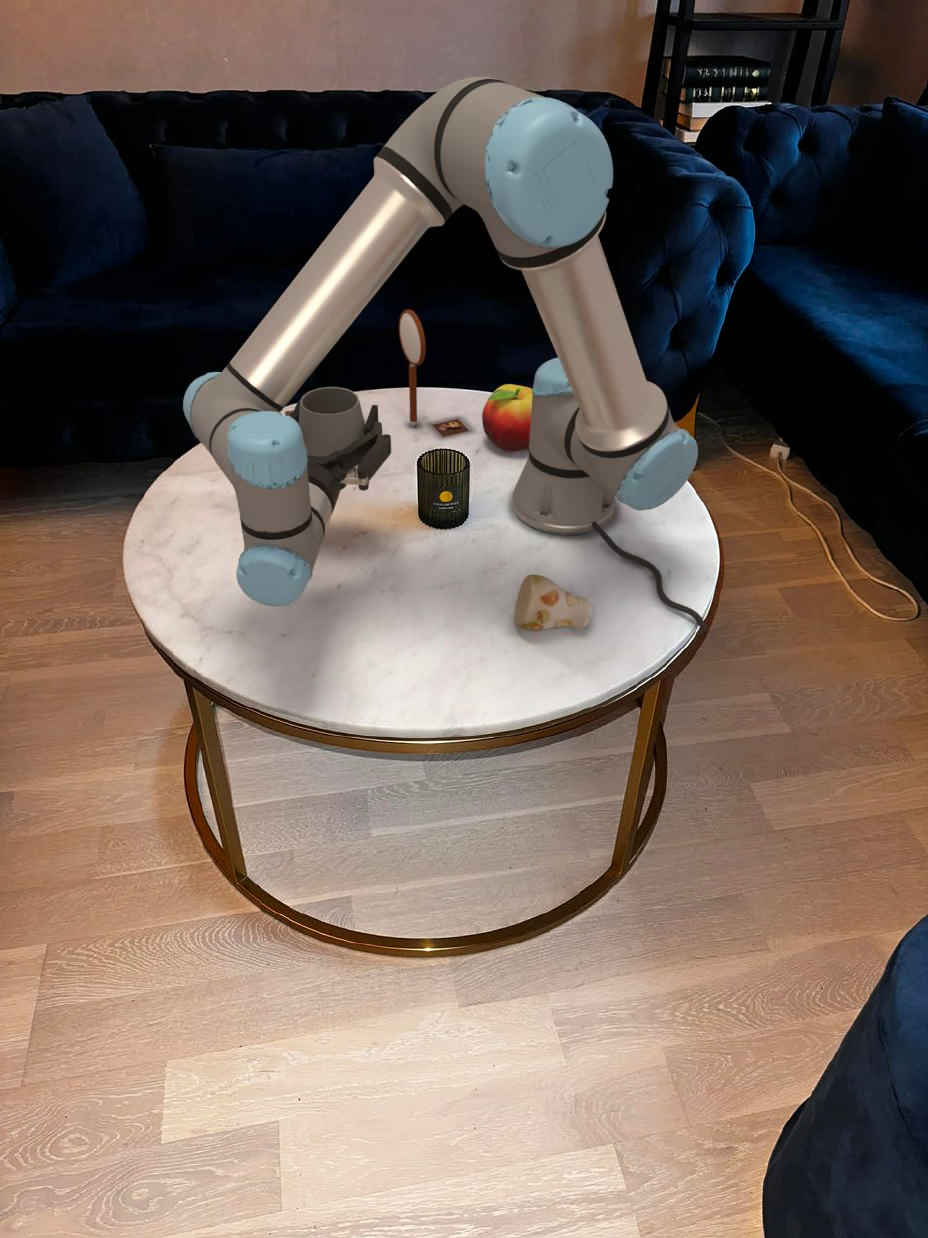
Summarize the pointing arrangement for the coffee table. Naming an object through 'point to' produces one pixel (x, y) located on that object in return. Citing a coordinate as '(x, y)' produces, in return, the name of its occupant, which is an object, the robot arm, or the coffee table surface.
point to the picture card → (450, 427)
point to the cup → (330, 420)
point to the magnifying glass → (412, 353)
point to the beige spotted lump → (549, 606)
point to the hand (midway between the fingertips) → (338, 411)
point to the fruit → (508, 417)
